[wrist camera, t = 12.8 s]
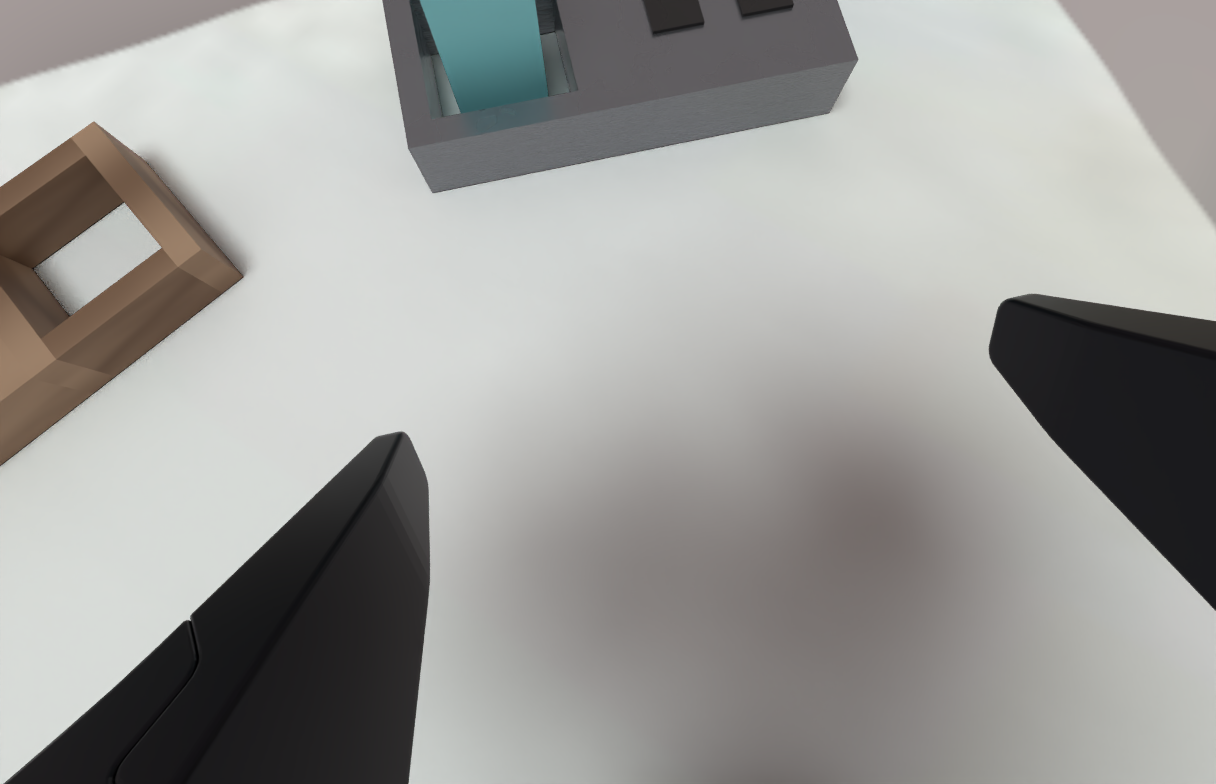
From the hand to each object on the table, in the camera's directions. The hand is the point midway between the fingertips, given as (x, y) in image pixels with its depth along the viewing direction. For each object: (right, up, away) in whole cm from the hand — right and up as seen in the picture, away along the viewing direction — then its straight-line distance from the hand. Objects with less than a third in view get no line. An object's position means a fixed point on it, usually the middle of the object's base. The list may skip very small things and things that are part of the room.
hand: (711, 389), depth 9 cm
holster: (-24, +2, +14) cm, 28 cm away
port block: (-1, +14, +17) cm, 22 cm away
